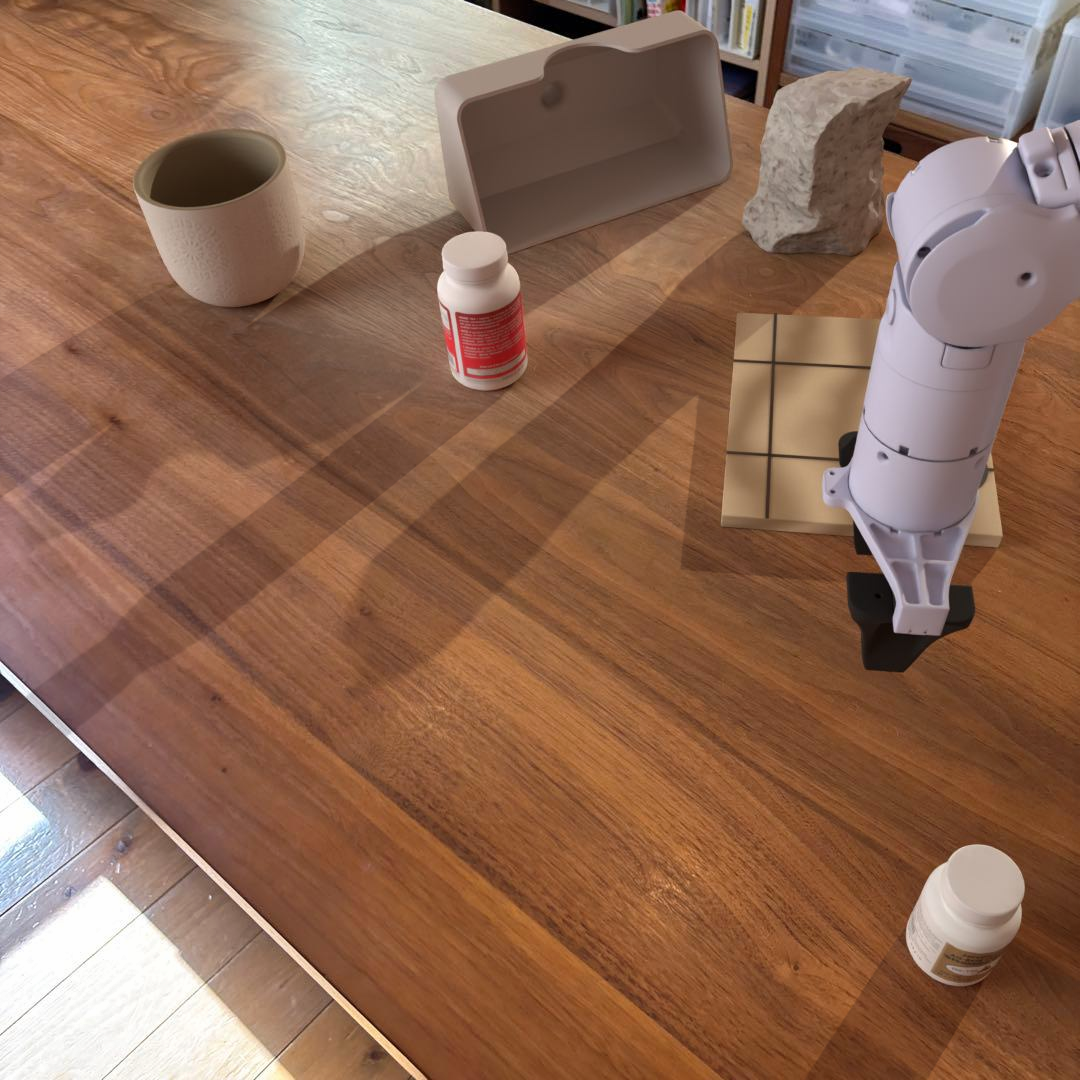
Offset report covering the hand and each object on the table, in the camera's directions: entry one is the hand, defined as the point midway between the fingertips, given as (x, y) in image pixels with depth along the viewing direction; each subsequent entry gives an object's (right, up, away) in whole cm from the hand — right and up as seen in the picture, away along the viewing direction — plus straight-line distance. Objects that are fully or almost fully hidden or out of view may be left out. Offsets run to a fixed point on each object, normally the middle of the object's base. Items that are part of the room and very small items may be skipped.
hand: (879, 606), depth 59 cm
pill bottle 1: (-22, +17, +29) cm, 40 cm away
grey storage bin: (-15, +38, +47) cm, 62 cm away
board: (+5, +12, +22) cm, 25 cm away
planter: (-44, +26, +39) cm, 65 cm away
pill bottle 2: (+3, -17, -3) cm, 17 cm away
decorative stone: (+6, +30, +38) cm, 49 cm away
